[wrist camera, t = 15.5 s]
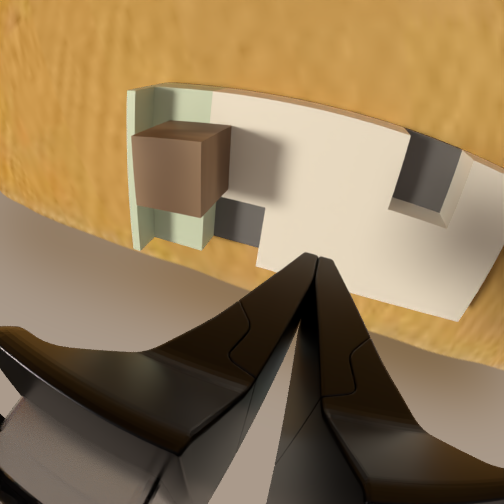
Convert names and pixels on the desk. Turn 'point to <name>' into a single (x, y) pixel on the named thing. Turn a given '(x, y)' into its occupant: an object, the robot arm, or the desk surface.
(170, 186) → the walnut block
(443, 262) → the board
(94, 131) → the desk surface
